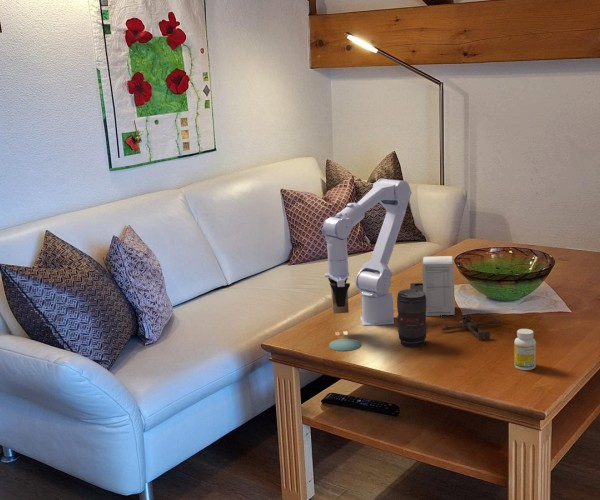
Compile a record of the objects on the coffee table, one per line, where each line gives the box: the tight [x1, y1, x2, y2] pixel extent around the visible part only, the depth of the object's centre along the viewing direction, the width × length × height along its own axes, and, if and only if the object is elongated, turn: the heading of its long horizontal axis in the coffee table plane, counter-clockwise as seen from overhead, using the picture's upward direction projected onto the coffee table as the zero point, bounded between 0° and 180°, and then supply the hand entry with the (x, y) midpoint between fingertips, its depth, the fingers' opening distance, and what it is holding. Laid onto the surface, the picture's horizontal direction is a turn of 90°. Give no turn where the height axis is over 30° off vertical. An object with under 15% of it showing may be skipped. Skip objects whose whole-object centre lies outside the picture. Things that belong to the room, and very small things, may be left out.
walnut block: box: [330, 287, 349, 315], centre depth 241 cm, size 4×4×7 cm
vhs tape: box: [409, 282, 423, 291], centre depth 277 cm, size 14×8×2 cm, turn 172°
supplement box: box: [421, 255, 456, 317], centre depth 256 cm, size 10×9×17 cm
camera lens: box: [396, 288, 427, 348], centre depth 231 cm, size 8×8×15 cm
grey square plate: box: [334, 330, 349, 336], centre depth 243 cm, size 10×10×1 cm
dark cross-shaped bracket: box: [441, 314, 501, 341], centre depth 238 cm, size 18×4×14 cm
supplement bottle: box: [513, 328, 537, 371], centre depth 211 cm, size 5×5×10 cm
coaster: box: [328, 338, 362, 352], centre depth 234 cm, size 9×9×1 cm
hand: (340, 303), depth 241 cm, fingers closed on walnut block, 4 cm apart
